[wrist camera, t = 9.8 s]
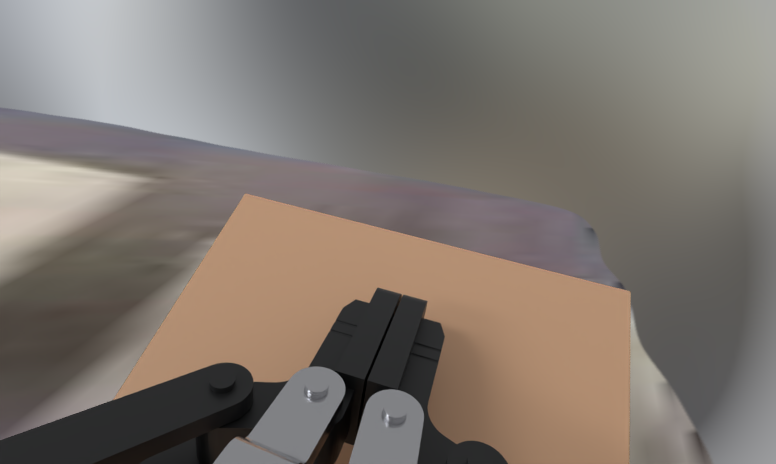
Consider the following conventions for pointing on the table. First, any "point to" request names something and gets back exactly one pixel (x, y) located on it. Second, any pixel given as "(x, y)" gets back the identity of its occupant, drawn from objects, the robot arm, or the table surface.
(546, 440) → the panel
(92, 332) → the table surface
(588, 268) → the table surface
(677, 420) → the table surface
